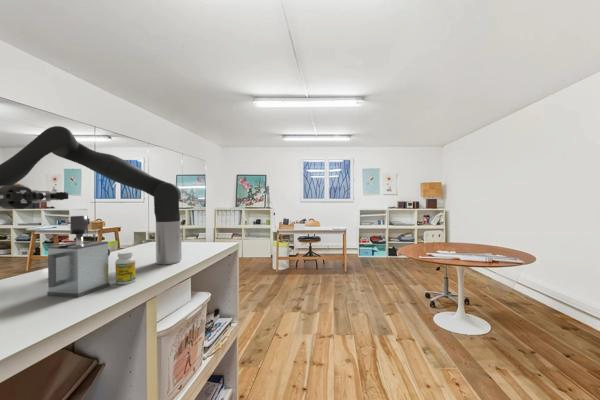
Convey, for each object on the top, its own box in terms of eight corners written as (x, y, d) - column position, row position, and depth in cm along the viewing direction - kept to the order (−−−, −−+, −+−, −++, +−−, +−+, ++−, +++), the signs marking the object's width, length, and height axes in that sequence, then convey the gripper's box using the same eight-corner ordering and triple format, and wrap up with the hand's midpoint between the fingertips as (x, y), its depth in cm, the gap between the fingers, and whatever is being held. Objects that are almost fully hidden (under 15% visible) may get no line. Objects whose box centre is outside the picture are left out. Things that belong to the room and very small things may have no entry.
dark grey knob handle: (81, 273, 83) (80, 215, 83) (100, 274, 82) (100, 215, 82) (57, 280, 77) (56, 216, 76) (78, 281, 75) (77, 217, 75)
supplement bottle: (135, 278, 91) (134, 250, 91) (136, 282, 86) (135, 252, 86) (115, 281, 88) (115, 251, 88) (115, 285, 83) (115, 254, 83)
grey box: (81, 284, 85) (81, 240, 85) (109, 285, 84) (109, 241, 84) (34, 299, 72) (34, 248, 72) (66, 301, 71) (66, 249, 71)
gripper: (-22, 184, 78) (25, 182, 76) (34, 186, 92) (75, 184, 90) (-20, 210, 78) (27, 209, 76) (35, 208, 92) (76, 206, 90)
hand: (53, 195), depth 83 cm, fingers open, 8 cm apart
